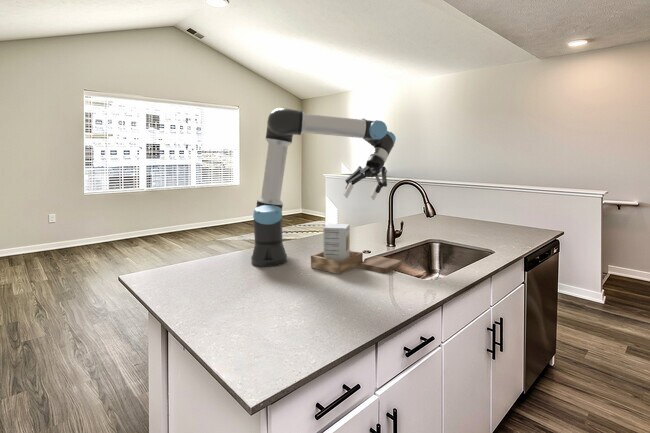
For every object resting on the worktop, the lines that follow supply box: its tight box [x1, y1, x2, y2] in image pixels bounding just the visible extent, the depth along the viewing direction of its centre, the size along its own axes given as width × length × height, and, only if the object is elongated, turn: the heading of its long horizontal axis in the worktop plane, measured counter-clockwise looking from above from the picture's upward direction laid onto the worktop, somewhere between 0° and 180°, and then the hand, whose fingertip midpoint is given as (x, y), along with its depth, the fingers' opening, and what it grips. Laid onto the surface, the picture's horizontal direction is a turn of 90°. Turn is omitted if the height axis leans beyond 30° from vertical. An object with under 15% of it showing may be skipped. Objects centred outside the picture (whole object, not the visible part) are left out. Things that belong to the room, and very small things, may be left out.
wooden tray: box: [310, 250, 364, 275], centre depth 155 cm, size 14×16×5 cm
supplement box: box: [322, 223, 351, 261], centre depth 154 cm, size 10×9×17 cm
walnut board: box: [358, 255, 403, 274], centre depth 154 cm, size 12×13×2 cm
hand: (358, 197), depth 162 cm, fingers open, 13 cm apart
